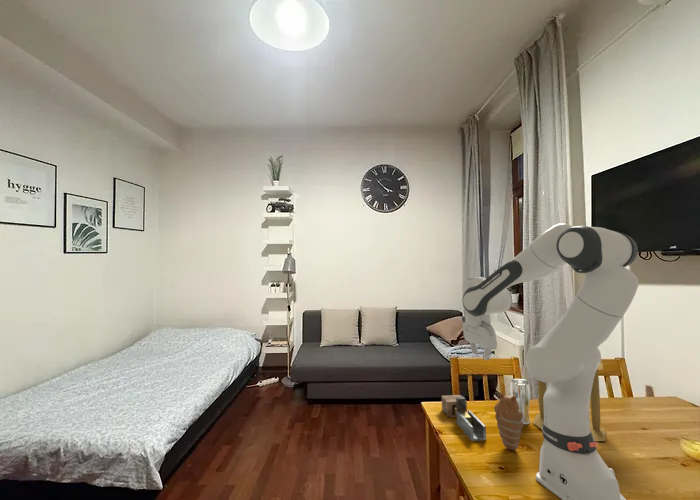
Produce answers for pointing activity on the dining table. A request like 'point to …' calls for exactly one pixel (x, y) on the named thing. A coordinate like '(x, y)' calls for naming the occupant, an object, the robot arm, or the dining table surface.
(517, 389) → the silver cup
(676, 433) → the dining table surface
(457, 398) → the tan grey t-shaped block
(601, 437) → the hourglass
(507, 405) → the cat ice cream
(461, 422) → the grey track with slider
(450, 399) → the socket
